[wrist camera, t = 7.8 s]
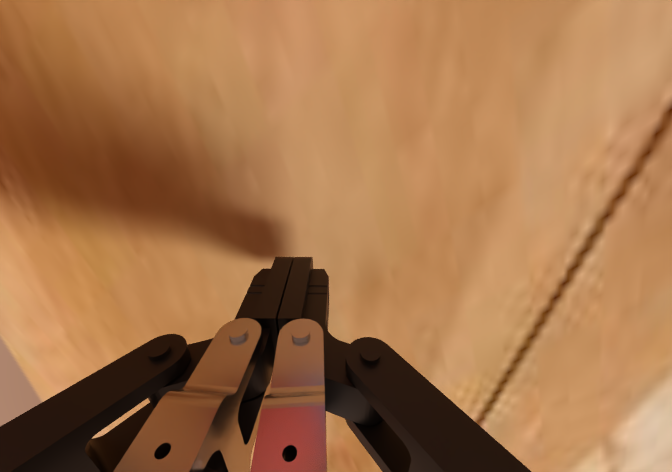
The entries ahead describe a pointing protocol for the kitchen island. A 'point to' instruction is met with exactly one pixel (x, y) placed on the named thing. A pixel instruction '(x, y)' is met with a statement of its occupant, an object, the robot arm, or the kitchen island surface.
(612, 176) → the kitchen island surface
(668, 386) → the kitchen island surface
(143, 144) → the kitchen island surface
